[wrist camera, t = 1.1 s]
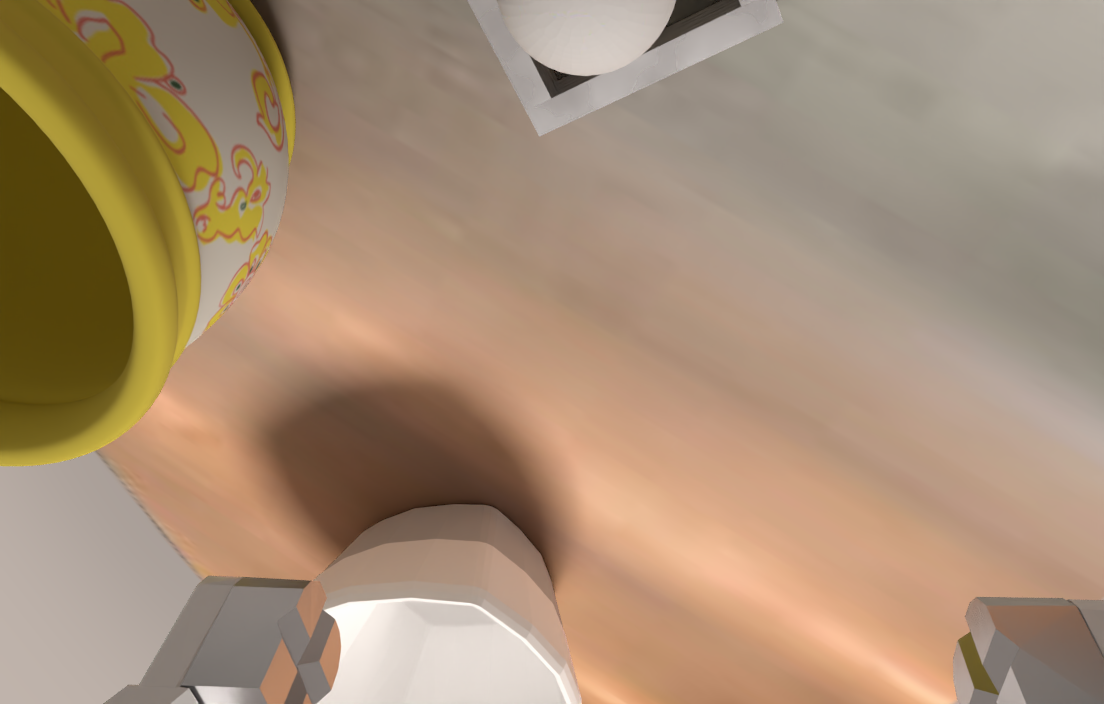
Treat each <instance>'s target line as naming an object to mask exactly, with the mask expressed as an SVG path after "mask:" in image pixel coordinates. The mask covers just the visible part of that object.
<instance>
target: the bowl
mask: <svg viewBox="0 0 1104 704" xmlns="http://www.w3.org/2000/svg"><path fill="white" fill-rule="evenodd" d="M313 581H320V583H321V585H322V587H323V589H324V592H325V594H326V596H327V599H326V601H325V604H324V607H323V610H324V611H325V612H327V613H328V614H329V615H331V616H332V617H333V618H334V619H335V620H336V622H337V625H338V628H339V631H340V640H341V653H340V660H339V668H338V672H337V675H336V678H335V681H334V684H333V687H332V690H331V691H330V692H329V693H328V694H327V695H326V696H324V697H323V698H322V699H321V700H320V701H319V702H318V703H317V704H581V695H580V691H579V687H578V683H577V679H576V675H575V671H574V667H573V663H572V659H571V655H570V651H569V647H568V643H567V639H566V635H565V632H564V630H563V626H562V622H561V618H560V614H559V610H558V606H557V602H556V598H555V594H554V590H553V586H552V582H551V579H550V576H549V574H548V571H547V568H546V566H545V563H544V561H543V558H542V556H541V554H540V553H539V552H538V550H537V549H536V548H535V547H534V546H533V544H532V543H531V542H530V541H529V540H528V538H527V537H526V536H525V535H524V534H523V532H522V531H521V530H520V529H519V528H518V527H517V526H516V525H515V524H513V523H512V522H511V521H510V520H509V519H508V518H507V517H506V516H504V515H503V514H502V513H501V512H500V511H499V510H497V509H495V508H494V507H492V506H487V505H469V504H451V505H442V506H432V507H423V508H414V509H412V510H409V511H406V512H403V513H401V514H398V515H395V516H393V517H390V518H387V519H384V520H382V521H380V522H379V523H377V524H375V525H374V526H372V527H370V528H368V529H367V530H365V531H363V532H362V533H361V534H360V535H359V536H358V537H357V538H356V539H355V540H354V541H353V542H352V543H351V544H350V545H349V546H348V547H347V548H346V549H345V550H344V551H343V552H342V553H341V554H340V555H339V556H338V557H337V558H336V559H335V560H334V561H333V562H332V563H331V564H330V565H329V566H328V567H327V568H326V569H325V570H324V571H323V572H322V573H321V574H319V575H318V576H317V577H316V578H315V579H314V580H313Z"/></svg>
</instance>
